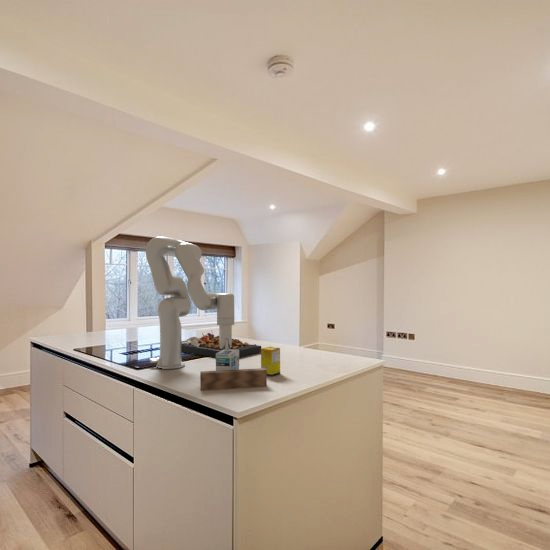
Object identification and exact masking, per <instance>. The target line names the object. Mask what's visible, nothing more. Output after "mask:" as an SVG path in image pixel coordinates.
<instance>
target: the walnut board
mask: <svg viewBox="0 0 550 550" xmlns="http://www.w3.org/2000/svg"><path fill="white" fill-rule="evenodd" d="M199 372H200V376H199V377H200V380H199V385H200V387H199V388H200V391H206V390H205V389H215V390H228V389H229V390H230V389H244V388H259V387H261V388H262V387H267V386H268V385H267V383H268V382H267V381H268V379H267V377H268V376H267V370H266V369H265V368H261V367H259V368H242V369H241V368H239V370H220V371H216V370H205V371H203V370H202V371H199ZM203 389H204V390H203Z"/></svg>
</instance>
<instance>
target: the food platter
mask: <svg viewBox="0 0 550 550" xmlns="http://www.w3.org/2000/svg"><path fill="white" fill-rule="evenodd" d="M210 331H211V332H207V333H206V334H204V333H203V332H202V336H201V337H197V336H192V337H189V338H186V340H181V351H182V352H181V353H185V352H188V353H187V354H191V353H193V355H196V354H199V355H198V356H202V355H203V357H210V358H214V359H216V353H218V352H220V351H222V349H220V347H219V335H216V336H215V334H213V333H212V332H213V330H212V329H211V330H210ZM261 348H262V345H258V344H250V343H248V342H247V341H246V342H243V341H241V340H240V339H236V338H232V345H231V348H229V349H236V350H239V359H241V358H244V357H249V356H253V355H257V354H261Z"/></svg>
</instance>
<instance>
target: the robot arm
mask: <svg viewBox="0 0 550 550" xmlns="http://www.w3.org/2000/svg"><path fill="white" fill-rule="evenodd" d="M165 256H168V257H175V258H176V259H177V261H178V263H179V265H180V266H181V267H180V268H181V269H182V271H183V273H184V275H185V276H186V283H185V281H184V279H183V278H182V277H180V276H178V275H173V274H172V272H171V269H170V265H169V262H168V261H167V259H166V258H165ZM145 257H146V260H147V263H148V266H149V269H150V272H151V277H152V282H153V284H154V287H155V291H156V293H157V294H158V295H160V296H170V297H165V298H163V299H162V300H160V302H159V303H158V307H157V313H158V318H159V356H158V357H155V358H150V357H149V363H150V364H151V363H152V364H156V365H155V366H156V368H157V367H158V368H157V369H159V368H162V369H161V370H175V369H181V368H183V367H185V366H186V362H184V361H182V352H181V341H182V335H183V333H182V323H181V320H180V318H182V317H186V316H188V315H189V314H190V312H191V311H192V303H193V304H194V306H195V307H196V309H198V310H200V311H210V310H216V325H217V326H218V327H219V329H218V336H219V347H220V349H222V350H224V349H229V348H231V345H232V339H233V337H232V336H233V330H232V329H233V326H235V295H234V293H232V292H230V293H229V292H227V293H226V292H222V293H218V292H206V290H205V288H204V286H203V284H202V280H201V279H202V275H204V274H205V268H204V266H203V265H202V262H201V261H200V260H201V258H202V249H201V247H200V246H198V245H197V244H193V243H190V242H186V241H183V240H180V239H177V238H173V237H172V238H171V237H168V236H155V237H152V238H151V239H150V240H149V241H148V243H147V244H146V248H145ZM191 301H192V303H191Z"/></svg>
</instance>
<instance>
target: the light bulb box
mask: <svg viewBox="0 0 550 550" xmlns="http://www.w3.org/2000/svg"><path fill="white" fill-rule="evenodd" d="M239 369H240V358H239V350H236V349H224V350H222V351H220V352H218V353H216V358H215V371H220V370H239Z"/></svg>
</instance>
